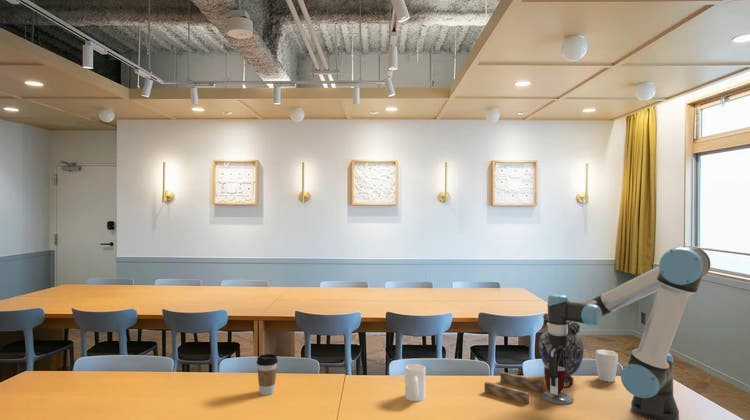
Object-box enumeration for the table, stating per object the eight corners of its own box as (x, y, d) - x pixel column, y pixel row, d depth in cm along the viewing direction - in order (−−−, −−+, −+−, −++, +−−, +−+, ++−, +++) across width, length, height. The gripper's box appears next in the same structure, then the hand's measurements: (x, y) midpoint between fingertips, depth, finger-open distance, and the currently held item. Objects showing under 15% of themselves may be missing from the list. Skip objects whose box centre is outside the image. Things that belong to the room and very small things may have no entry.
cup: (597, 381, 199) (597, 354, 199) (593, 374, 207) (593, 348, 207) (620, 384, 196) (620, 356, 196) (615, 377, 205) (615, 350, 205)
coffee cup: (251, 394, 183) (252, 357, 183) (266, 387, 190) (266, 351, 190) (267, 398, 179) (268, 360, 179) (281, 390, 186) (282, 354, 186)
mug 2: (568, 391, 184) (569, 366, 184) (574, 398, 176) (575, 372, 176) (541, 388, 185) (542, 364, 186) (546, 395, 177) (547, 370, 178)
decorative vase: (596, 384, 195) (595, 319, 196) (563, 390, 189) (562, 323, 189) (559, 368, 215) (558, 310, 215) (528, 374, 208) (527, 313, 209)
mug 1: (403, 405, 173) (404, 373, 173) (405, 392, 185) (405, 363, 185) (425, 406, 172) (425, 374, 172) (425, 393, 184) (425, 364, 184)
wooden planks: (543, 391, 188) (543, 381, 188) (527, 404, 174) (527, 394, 174) (502, 380, 199) (502, 371, 199) (484, 392, 186) (484, 382, 186)
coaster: (577, 397, 181) (577, 396, 181) (568, 407, 172) (568, 406, 172) (547, 390, 189) (547, 388, 189) (537, 398, 180) (537, 397, 180)
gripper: (556, 327, 191) (556, 380, 191) (539, 337, 175) (538, 395, 175) (575, 330, 186) (575, 385, 186) (558, 340, 170) (558, 401, 170)
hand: (557, 390), depth 180 cm, fingers closed on mug 2, 8 cm apart
